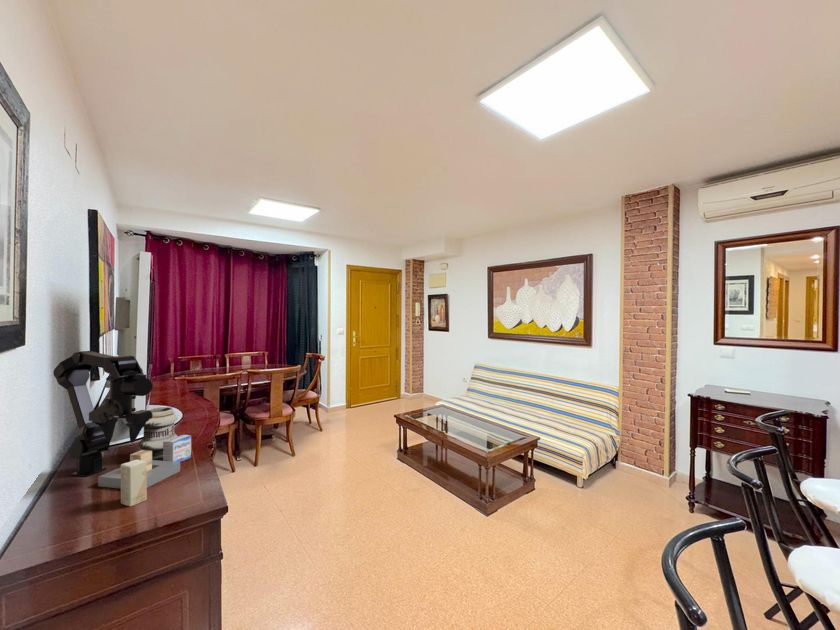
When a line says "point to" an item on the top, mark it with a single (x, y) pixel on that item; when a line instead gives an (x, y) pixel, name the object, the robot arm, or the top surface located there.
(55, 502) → the top surface
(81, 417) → the robot arm
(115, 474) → the pocket plate
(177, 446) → the medicine box
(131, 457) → the maple block
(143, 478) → the box
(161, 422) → the apothecary jar
